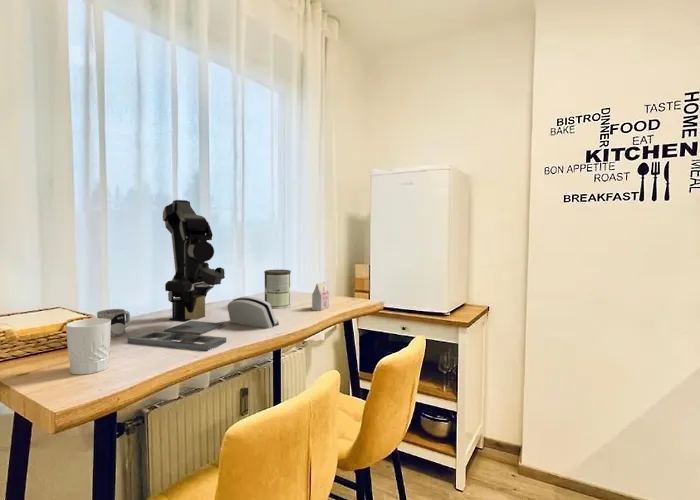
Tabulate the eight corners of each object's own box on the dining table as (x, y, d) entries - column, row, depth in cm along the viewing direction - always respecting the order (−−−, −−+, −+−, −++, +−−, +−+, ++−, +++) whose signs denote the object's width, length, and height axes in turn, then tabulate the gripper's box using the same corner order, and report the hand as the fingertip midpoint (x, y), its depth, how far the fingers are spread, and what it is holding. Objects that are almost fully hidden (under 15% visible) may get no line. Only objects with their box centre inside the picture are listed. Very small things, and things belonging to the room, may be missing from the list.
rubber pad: (164, 331, 113) (164, 329, 113) (191, 322, 124) (191, 320, 124) (199, 335, 110) (199, 332, 110) (224, 325, 121) (224, 323, 121)
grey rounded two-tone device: (280, 324, 123) (273, 296, 119) (271, 333, 119) (264, 304, 115) (240, 318, 131) (233, 292, 127) (231, 326, 127) (223, 299, 123)
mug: (112, 338, 106) (111, 314, 105) (91, 337, 107) (91, 313, 107) (139, 329, 115) (138, 307, 115) (119, 328, 117) (119, 306, 116)
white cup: (81, 363, 86) (80, 318, 85) (119, 362, 86) (118, 318, 86) (57, 376, 78) (56, 327, 77) (99, 375, 78) (98, 326, 78)
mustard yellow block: (185, 318, 116) (184, 297, 115) (193, 315, 119) (193, 295, 119) (196, 319, 115) (196, 297, 114) (205, 316, 118) (205, 295, 118)
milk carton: (312, 310, 147) (312, 283, 146) (320, 307, 153) (320, 281, 152) (320, 311, 145) (320, 284, 145) (328, 307, 151) (329, 282, 151)
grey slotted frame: (127, 342, 101) (127, 338, 101) (151, 335, 109) (150, 330, 109) (207, 350, 95) (207, 346, 95) (226, 342, 103) (226, 337, 103)
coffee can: (259, 305, 154) (259, 270, 153) (281, 302, 161) (281, 268, 160) (273, 309, 146) (273, 272, 146) (295, 306, 154) (296, 270, 153)
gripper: (198, 262, 105) (198, 319, 106) (235, 258, 123) (235, 307, 124) (163, 261, 108) (164, 316, 109) (204, 257, 126) (205, 305, 127)
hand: (195, 311), depth 117 cm, fingers closed on mustard yellow block, 4 cm apart
